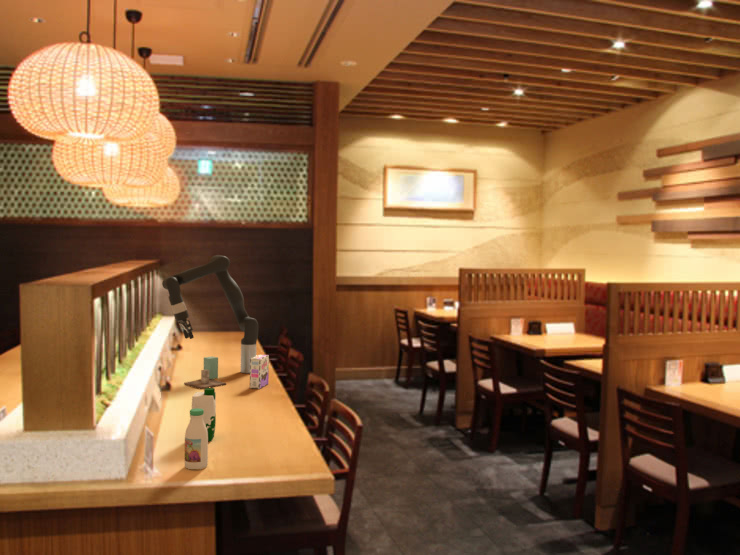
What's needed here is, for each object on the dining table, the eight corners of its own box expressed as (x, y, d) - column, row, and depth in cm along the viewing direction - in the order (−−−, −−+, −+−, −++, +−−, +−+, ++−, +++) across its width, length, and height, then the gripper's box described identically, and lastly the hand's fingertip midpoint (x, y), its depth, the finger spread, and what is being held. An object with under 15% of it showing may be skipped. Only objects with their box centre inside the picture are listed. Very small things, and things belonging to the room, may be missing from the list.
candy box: (259, 389, 338) (260, 358, 338) (249, 388, 340) (249, 358, 339) (268, 384, 352) (269, 354, 351) (258, 383, 353) (259, 354, 352)
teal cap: (211, 376, 367) (212, 356, 367) (217, 378, 364) (218, 357, 363) (203, 378, 363) (203, 357, 362) (209, 379, 359) (209, 358, 359)
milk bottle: (197, 461, 224) (198, 405, 223) (212, 466, 219) (213, 409, 218) (179, 467, 217) (180, 409, 216) (194, 472, 213) (195, 413, 212)
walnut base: (208, 380, 358) (209, 366, 357) (226, 384, 347) (226, 370, 347) (184, 384, 346) (184, 370, 345) (201, 389, 335) (201, 374, 335)
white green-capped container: (213, 442, 246) (213, 391, 245) (189, 442, 245) (190, 391, 244) (216, 435, 254) (217, 386, 254) (193, 435, 254) (194, 386, 253)
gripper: (190, 308, 349) (199, 336, 351) (182, 308, 361) (191, 335, 363) (177, 313, 345) (187, 341, 347) (170, 313, 357) (179, 340, 359)
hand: (189, 338), depth 355 cm, fingers open, 8 cm apart
